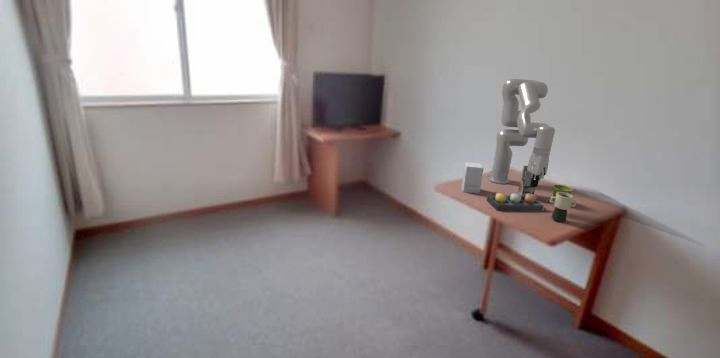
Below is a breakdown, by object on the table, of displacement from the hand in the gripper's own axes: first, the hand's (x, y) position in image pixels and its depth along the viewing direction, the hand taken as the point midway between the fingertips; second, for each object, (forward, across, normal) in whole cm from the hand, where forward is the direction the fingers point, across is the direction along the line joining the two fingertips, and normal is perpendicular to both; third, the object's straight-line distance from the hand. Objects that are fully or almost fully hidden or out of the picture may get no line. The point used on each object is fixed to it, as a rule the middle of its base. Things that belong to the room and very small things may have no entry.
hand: (533, 186), depth 188 cm
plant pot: (+11, -6, +20) cm, 24 cm away
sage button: (+9, -1, -8) cm, 12 cm away
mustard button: (+9, -1, -16) cm, 18 cm away
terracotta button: (+9, -1, 0) cm, 9 cm away
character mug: (+11, +15, +6) cm, 20 cm away
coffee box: (+11, -15, +6) cm, 19 cm away
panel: (+11, -1, -8) cm, 14 cm away
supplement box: (+11, -22, -23) cm, 33 cm away
